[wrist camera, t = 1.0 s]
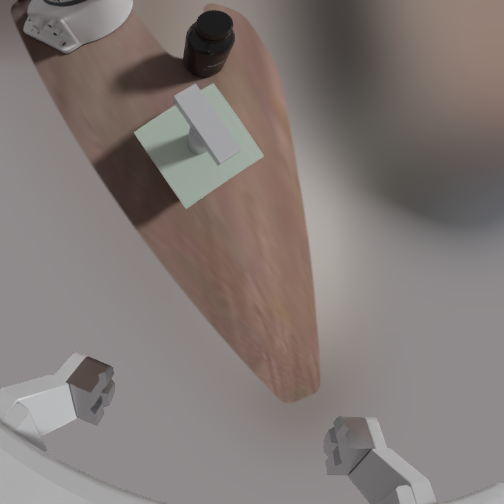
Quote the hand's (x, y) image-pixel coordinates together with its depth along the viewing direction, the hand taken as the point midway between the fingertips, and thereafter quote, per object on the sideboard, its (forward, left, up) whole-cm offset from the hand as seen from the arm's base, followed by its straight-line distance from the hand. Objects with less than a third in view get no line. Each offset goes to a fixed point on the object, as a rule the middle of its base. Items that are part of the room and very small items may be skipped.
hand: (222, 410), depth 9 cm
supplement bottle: (-10, +29, -37) cm, 48 cm away
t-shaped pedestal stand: (-4, +14, -32) cm, 35 cm away
